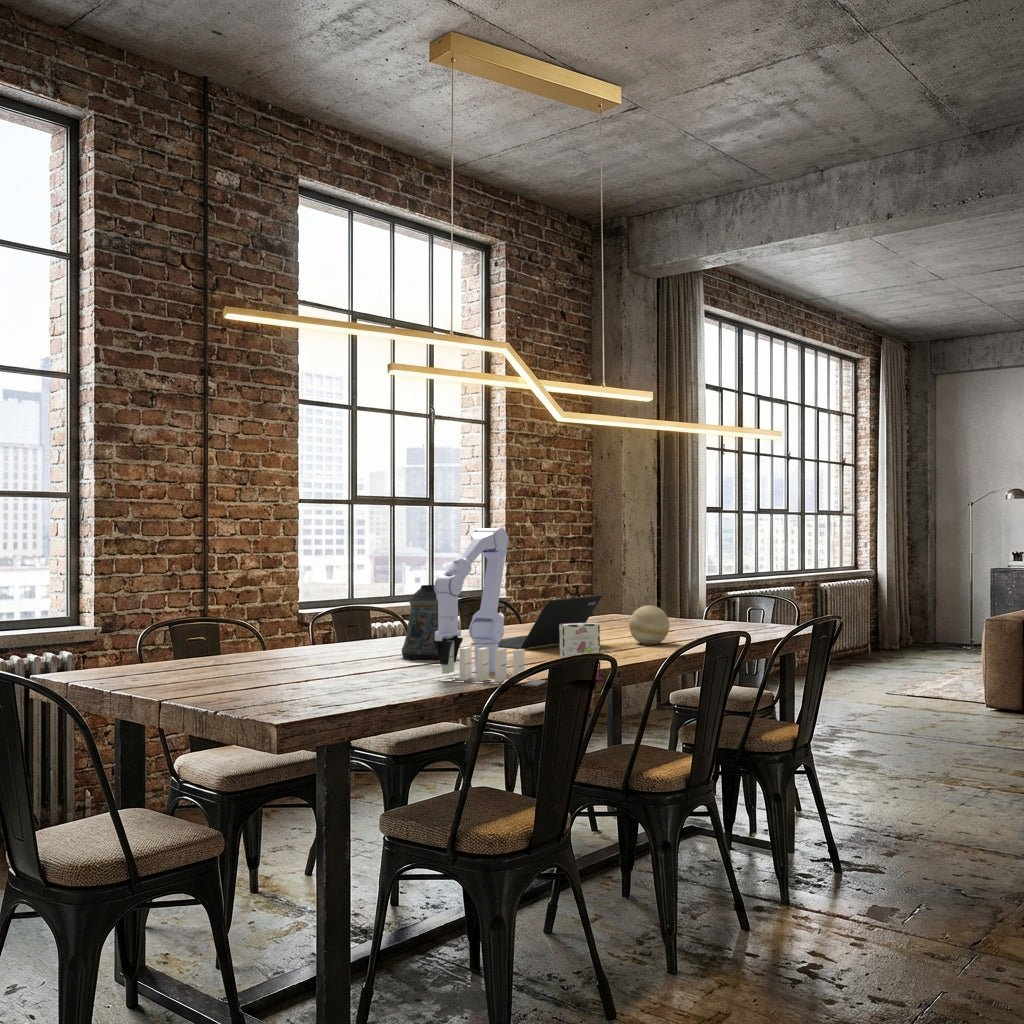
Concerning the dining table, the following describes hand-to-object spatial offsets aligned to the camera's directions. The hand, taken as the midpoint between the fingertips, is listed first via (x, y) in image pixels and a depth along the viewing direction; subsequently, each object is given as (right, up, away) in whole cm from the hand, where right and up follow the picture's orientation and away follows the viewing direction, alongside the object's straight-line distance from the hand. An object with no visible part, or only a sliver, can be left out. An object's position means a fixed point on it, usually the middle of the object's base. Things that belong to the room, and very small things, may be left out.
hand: (448, 663), depth 301 cm
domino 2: (+10, -4, -4) cm, 12 cm away
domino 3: (+15, -4, -6) cm, 17 cm away
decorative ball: (+70, -6, +88) cm, 113 cm away
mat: (+10, -5, -4) cm, 12 cm away
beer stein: (-10, -6, +47) cm, 49 cm away
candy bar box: (+38, -5, -2) cm, 39 cm away
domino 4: (+21, -4, -8) cm, 22 cm away
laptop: (+28, -7, +86) cm, 90 cm away
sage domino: (0, -3, 0) cm, 3 cm away
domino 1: (+5, -4, -2) cm, 7 cm away
